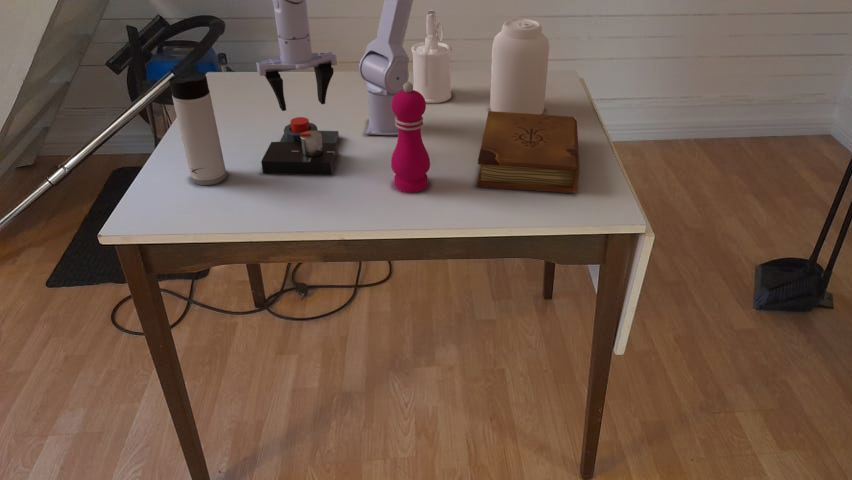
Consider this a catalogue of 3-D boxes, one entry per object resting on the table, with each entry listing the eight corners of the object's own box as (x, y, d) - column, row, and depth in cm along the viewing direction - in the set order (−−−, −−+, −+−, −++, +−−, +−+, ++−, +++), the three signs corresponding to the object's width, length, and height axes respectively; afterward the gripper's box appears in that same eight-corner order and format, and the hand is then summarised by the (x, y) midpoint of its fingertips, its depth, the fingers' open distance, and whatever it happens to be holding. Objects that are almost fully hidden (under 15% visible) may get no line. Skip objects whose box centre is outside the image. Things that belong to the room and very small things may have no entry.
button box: (339, 137, 149) (337, 122, 147) (333, 152, 143) (332, 136, 141) (286, 136, 148) (284, 120, 146) (279, 151, 143) (276, 135, 141)
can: (553, 108, 164) (561, 21, 153) (527, 126, 156) (533, 35, 144) (507, 96, 170) (511, 11, 158) (479, 113, 161) (482, 24, 149)
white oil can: (418, 86, 173) (416, 2, 161) (455, 90, 171) (456, 6, 160) (406, 103, 164) (403, 15, 153) (445, 107, 163) (445, 19, 151)
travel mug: (195, 189, 129) (170, 84, 117) (189, 173, 134) (164, 71, 122) (230, 182, 132) (209, 78, 120) (223, 167, 136) (202, 66, 125)
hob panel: (338, 154, 142) (337, 142, 140) (332, 175, 135) (330, 162, 134) (273, 153, 142) (271, 140, 140) (263, 173, 135) (261, 160, 133)
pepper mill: (415, 198, 129) (412, 93, 117) (384, 187, 132) (378, 84, 120) (437, 182, 134) (437, 80, 122) (407, 172, 137) (403, 72, 125)
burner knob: (325, 147, 139) (323, 129, 136) (321, 156, 135) (319, 138, 133) (304, 147, 139) (302, 128, 136) (300, 156, 135) (298, 137, 133)
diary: (576, 194, 132) (580, 166, 129) (477, 187, 133) (478, 159, 130) (574, 141, 151) (577, 115, 147) (487, 135, 152) (488, 110, 148)
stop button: (311, 126, 145) (310, 117, 144) (307, 134, 142) (306, 124, 141) (293, 126, 145) (292, 116, 144) (290, 133, 142) (288, 124, 141)
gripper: (259, 46, 122) (270, 119, 130) (339, 36, 128) (345, 106, 136) (249, 34, 127) (260, 105, 135) (327, 25, 133) (333, 94, 141)
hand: (302, 105), depth 136 cm, fingers open, 7 cm apart
